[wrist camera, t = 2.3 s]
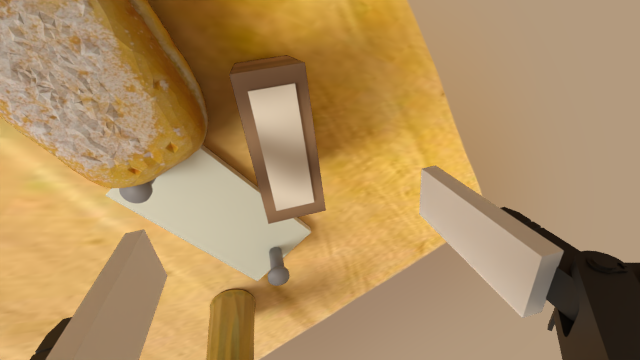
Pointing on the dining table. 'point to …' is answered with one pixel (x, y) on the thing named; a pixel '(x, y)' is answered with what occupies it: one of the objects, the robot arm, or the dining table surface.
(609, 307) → the robot arm
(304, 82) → the brown block
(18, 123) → the bread
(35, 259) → the dining table surface
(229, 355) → the vase
